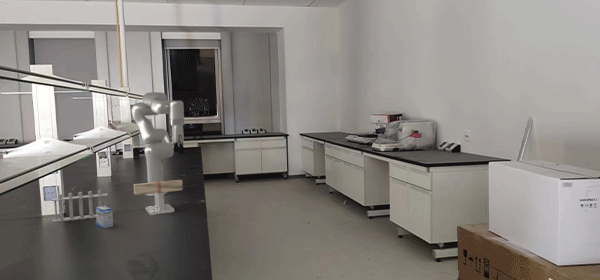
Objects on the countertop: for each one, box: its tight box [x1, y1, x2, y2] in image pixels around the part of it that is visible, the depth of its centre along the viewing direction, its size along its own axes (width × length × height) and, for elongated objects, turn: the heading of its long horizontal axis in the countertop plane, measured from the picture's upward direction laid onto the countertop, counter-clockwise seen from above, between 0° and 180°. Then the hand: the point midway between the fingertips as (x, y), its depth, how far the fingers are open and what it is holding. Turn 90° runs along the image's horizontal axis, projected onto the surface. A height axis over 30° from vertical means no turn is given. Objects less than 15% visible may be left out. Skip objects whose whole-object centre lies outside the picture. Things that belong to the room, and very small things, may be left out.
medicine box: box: [95, 205, 114, 229], centre depth 203 cm, size 8×4×9 cm, turn 47°
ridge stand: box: [145, 192, 175, 216], centre depth 230 cm, size 14×12×10 cm
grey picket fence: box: [50, 190, 109, 223], centre depth 218 cm, size 25×4×13 cm, turn 113°
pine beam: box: [133, 179, 184, 196], centre depth 230 cm, size 4×24×5 cm, turn 119°
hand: (178, 152), depth 250 cm, fingers open, 9 cm apart
